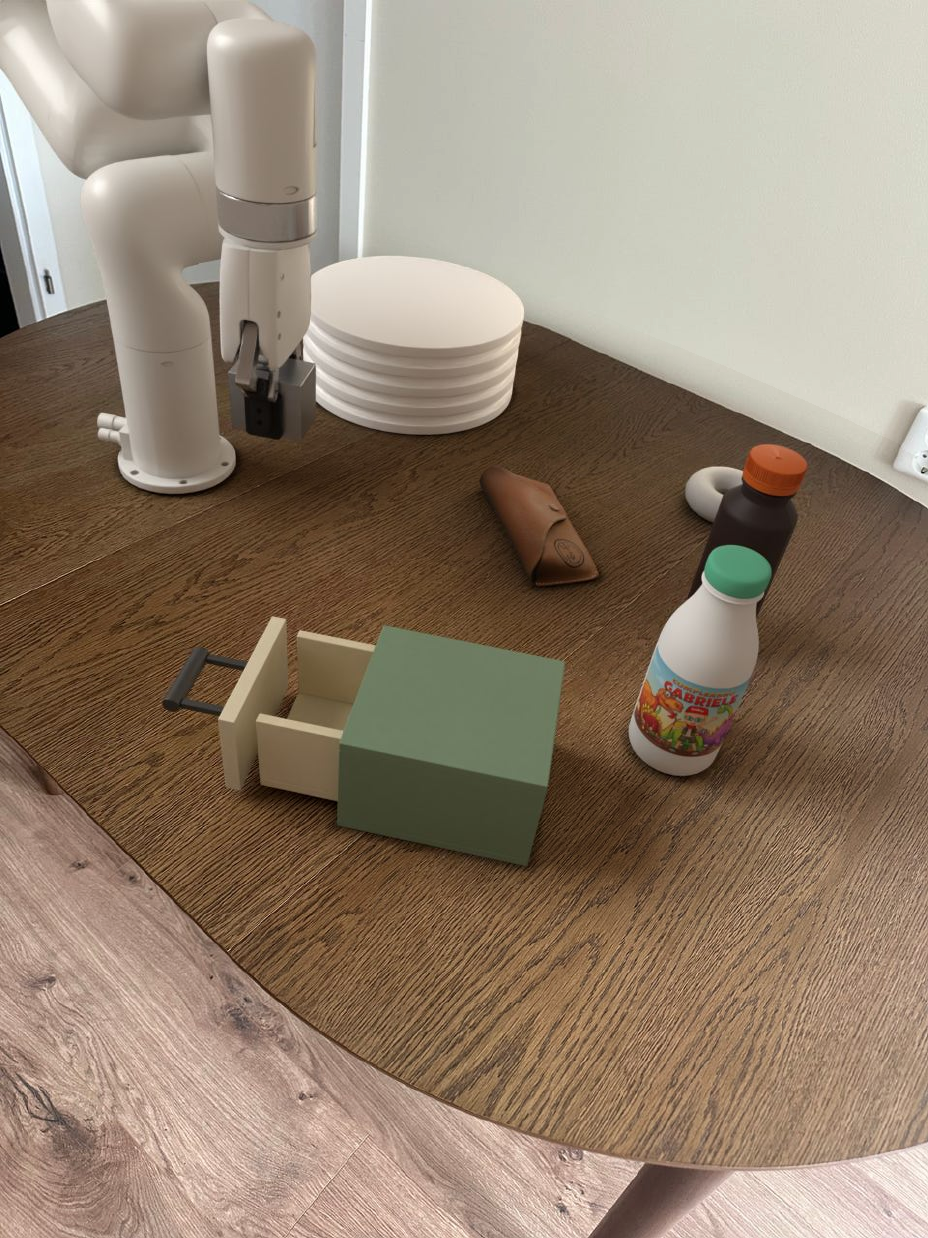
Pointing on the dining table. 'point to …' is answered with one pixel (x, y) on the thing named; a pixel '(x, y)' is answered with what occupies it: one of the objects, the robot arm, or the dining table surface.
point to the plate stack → (412, 344)
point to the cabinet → (450, 745)
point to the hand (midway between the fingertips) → (274, 419)
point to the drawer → (247, 723)
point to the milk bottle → (701, 666)
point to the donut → (710, 489)
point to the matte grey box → (283, 397)
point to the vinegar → (758, 509)
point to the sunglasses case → (538, 529)
